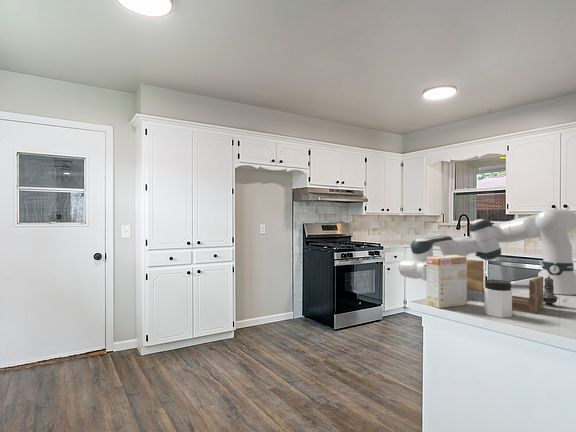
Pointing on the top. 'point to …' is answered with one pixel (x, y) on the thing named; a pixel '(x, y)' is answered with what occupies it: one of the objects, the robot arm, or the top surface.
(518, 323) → the top surface
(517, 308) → the walnut rack
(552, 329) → the top surface
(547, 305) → the salt shaker
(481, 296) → the slate holder
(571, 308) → the top surface
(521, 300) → the offcut boards
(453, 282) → the coffeecake box
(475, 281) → the wooden block
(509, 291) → the jar
